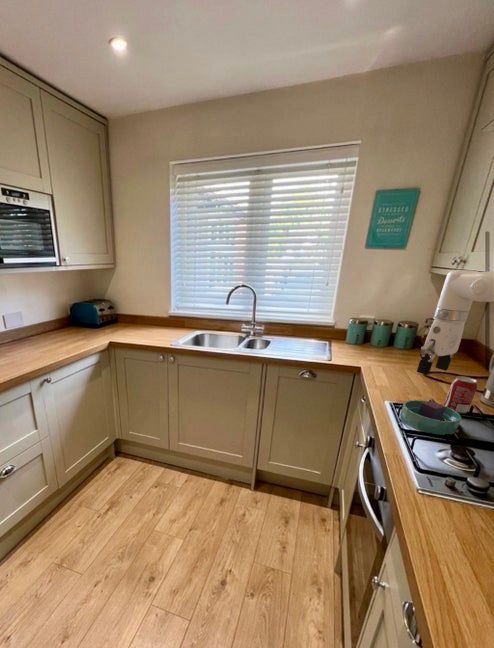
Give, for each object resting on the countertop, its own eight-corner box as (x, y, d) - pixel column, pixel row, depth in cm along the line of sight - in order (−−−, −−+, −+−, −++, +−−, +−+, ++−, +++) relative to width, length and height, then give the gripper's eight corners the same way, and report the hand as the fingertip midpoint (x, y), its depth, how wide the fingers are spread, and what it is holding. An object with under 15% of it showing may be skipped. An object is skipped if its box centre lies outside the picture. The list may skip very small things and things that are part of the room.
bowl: (439, 415, 112) (443, 402, 111) (466, 438, 99) (472, 424, 97) (391, 411, 115) (395, 398, 113) (412, 433, 101) (417, 419, 99)
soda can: (469, 416, 112) (483, 384, 107) (446, 413, 114) (458, 381, 110) (462, 408, 118) (474, 377, 113) (440, 405, 120) (451, 374, 115)
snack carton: (424, 418, 109) (431, 400, 107) (438, 424, 105) (445, 406, 103) (415, 420, 108) (421, 402, 105) (429, 427, 104) (435, 408, 101)
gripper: (448, 320, 88) (428, 379, 95) (481, 315, 95) (461, 371, 102) (419, 315, 94) (402, 371, 101) (452, 311, 101) (435, 364, 108)
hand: (431, 371), depth 101 cm, fingers open, 9 cm apart
